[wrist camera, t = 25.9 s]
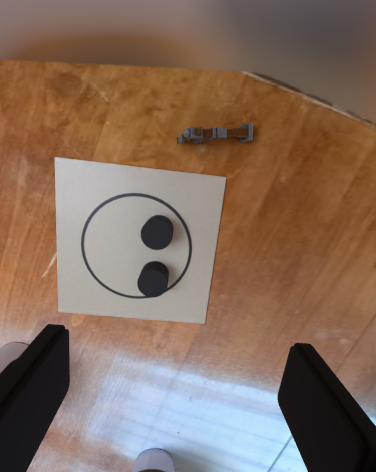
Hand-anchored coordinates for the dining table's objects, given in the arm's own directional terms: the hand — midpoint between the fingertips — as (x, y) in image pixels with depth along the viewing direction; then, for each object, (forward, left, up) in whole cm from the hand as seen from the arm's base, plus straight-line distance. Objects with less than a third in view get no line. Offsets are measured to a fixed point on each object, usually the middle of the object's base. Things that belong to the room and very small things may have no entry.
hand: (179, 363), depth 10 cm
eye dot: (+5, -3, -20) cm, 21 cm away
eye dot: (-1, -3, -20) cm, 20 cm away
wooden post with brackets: (-12, +3, -21) cm, 24 cm away
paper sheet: (+2, -5, -20) cm, 21 cm away
